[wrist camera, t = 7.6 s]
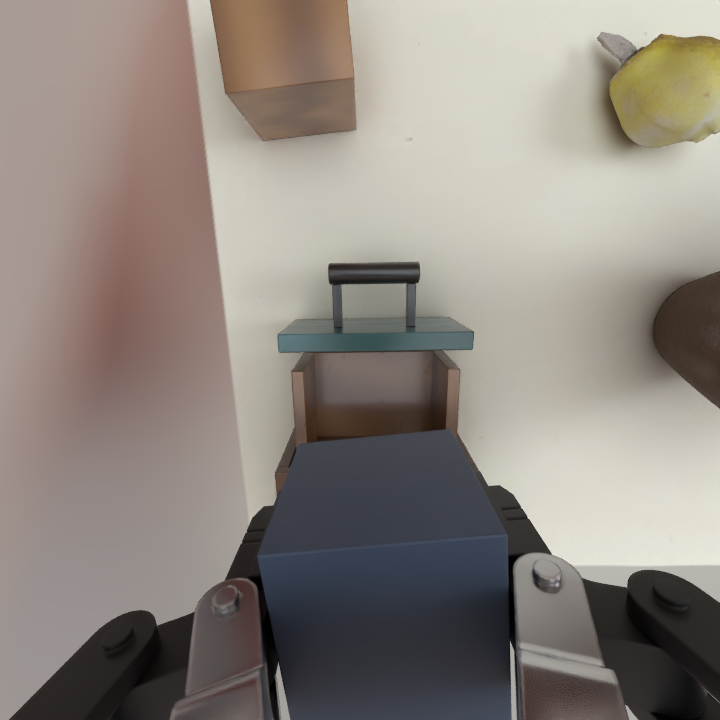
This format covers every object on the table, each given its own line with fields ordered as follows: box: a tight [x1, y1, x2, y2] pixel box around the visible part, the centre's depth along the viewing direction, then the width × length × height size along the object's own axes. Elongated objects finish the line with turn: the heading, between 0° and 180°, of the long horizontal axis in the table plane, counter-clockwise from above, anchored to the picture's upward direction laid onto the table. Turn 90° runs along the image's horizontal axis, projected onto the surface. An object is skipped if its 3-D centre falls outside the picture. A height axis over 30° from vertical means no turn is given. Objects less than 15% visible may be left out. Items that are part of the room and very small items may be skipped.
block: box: [257, 429, 511, 720], centre depth 10 cm, size 5×5×5 cm
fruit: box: [597, 32, 720, 147], centre depth 25 cm, size 6×6×10 cm
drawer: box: [278, 262, 474, 450], centre depth 28 cm, size 15×12×7 cm
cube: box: [210, 0, 356, 141], centre depth 23 cm, size 7×7×8 cm
